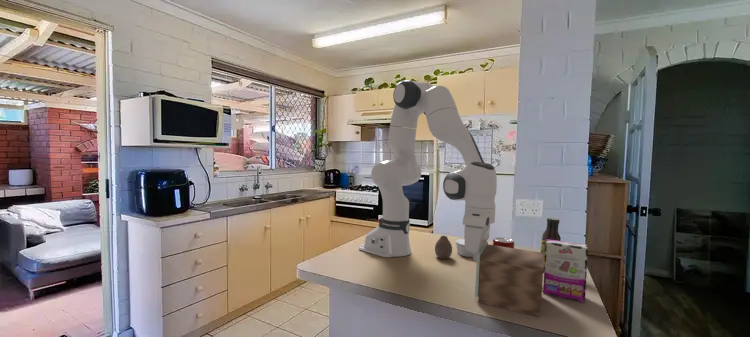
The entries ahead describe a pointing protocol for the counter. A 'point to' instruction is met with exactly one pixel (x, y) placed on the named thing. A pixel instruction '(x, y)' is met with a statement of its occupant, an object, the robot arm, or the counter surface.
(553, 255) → the candy bar box
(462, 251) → the ramekin
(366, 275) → the counter surface
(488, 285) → the tan box
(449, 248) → the vase
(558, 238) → the sauce bottle
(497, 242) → the soda can
